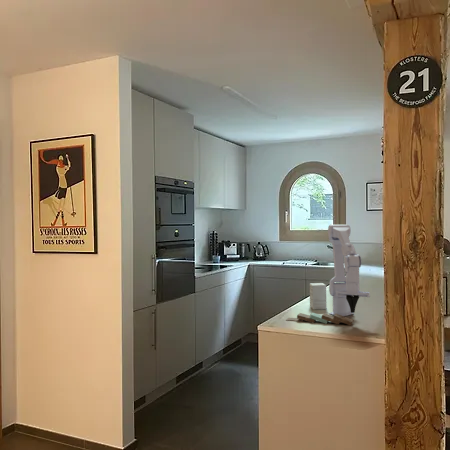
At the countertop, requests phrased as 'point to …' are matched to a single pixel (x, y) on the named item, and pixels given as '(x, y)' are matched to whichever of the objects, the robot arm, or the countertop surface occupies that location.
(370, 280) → the countertop surface
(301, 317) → the domino
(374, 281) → the countertop surface
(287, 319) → the domino
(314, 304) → the supplement box
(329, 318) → the domino
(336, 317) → the brown flat rectangular block
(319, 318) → the domino
